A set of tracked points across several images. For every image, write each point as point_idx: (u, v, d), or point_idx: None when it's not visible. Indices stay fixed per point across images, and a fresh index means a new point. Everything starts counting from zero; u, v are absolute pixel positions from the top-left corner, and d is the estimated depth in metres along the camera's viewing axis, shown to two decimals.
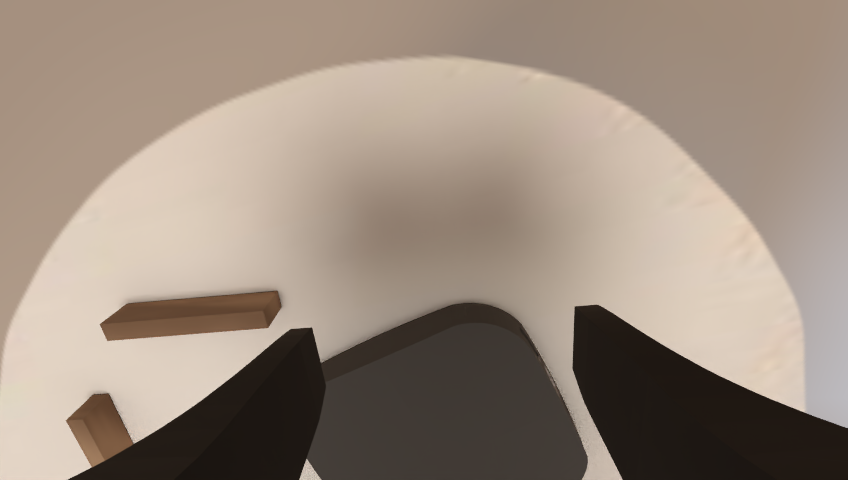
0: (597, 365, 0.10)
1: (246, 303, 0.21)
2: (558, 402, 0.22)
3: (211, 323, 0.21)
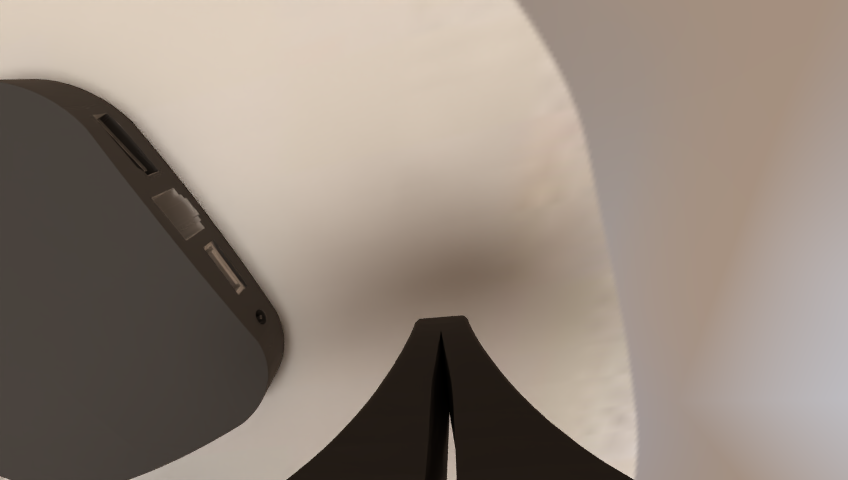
0: (446, 376, 0.10)
1: None
2: (165, 235, 0.13)
3: None
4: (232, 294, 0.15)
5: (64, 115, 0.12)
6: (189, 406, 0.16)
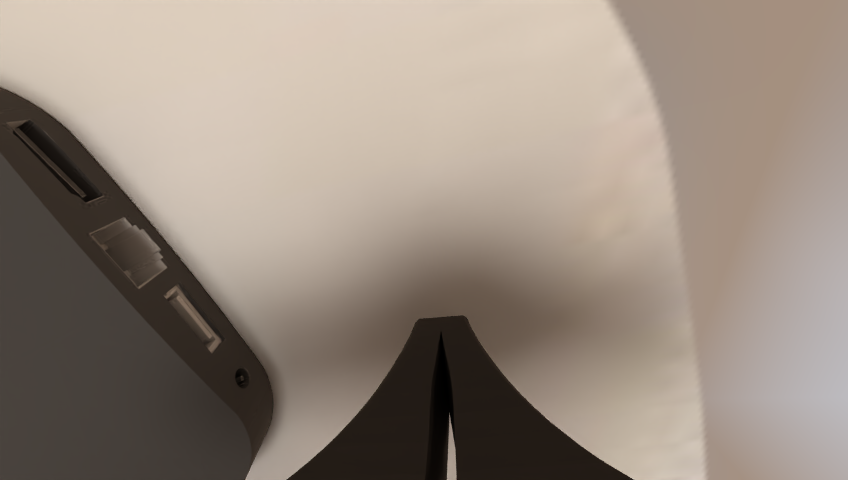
0: (446, 376, 0.10)
1: None
2: (107, 285, 0.10)
3: None
4: (203, 354, 0.11)
5: None
6: None
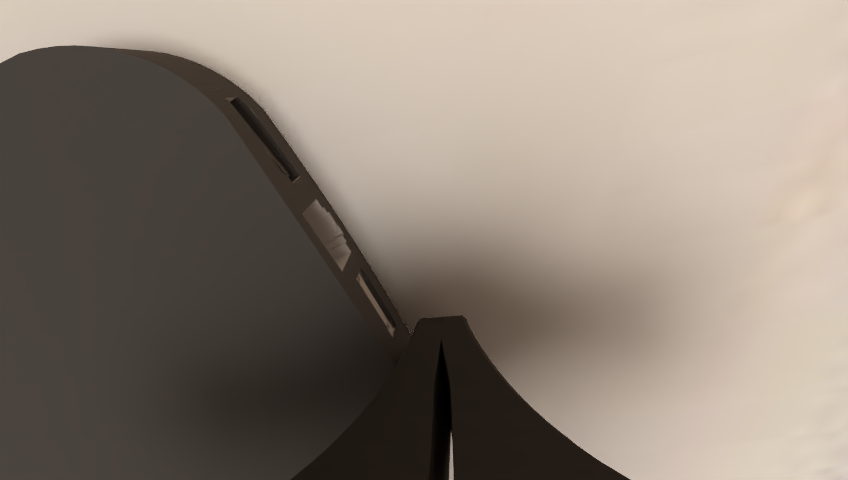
0: (445, 376, 0.10)
1: None
2: (321, 267, 0.10)
3: None
4: (390, 341, 0.11)
5: (195, 97, 0.09)
6: None
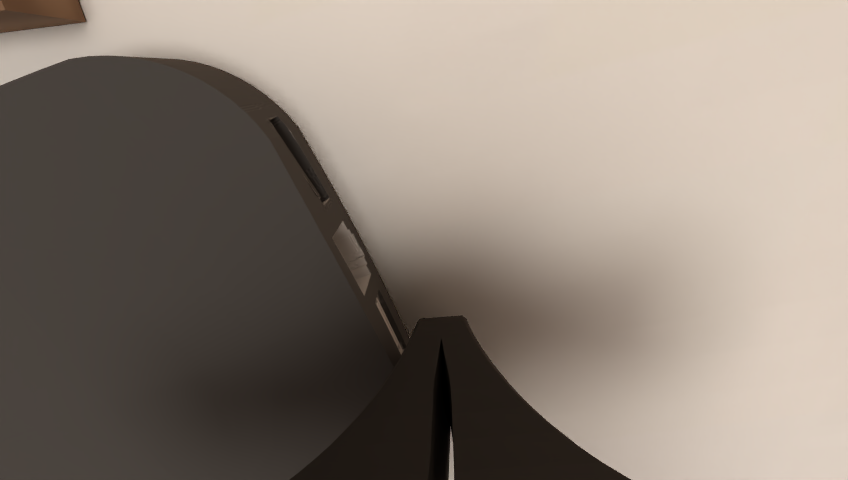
0: (445, 376, 0.10)
1: None
2: (347, 291, 0.10)
3: None
4: None
5: (241, 118, 0.09)
6: None
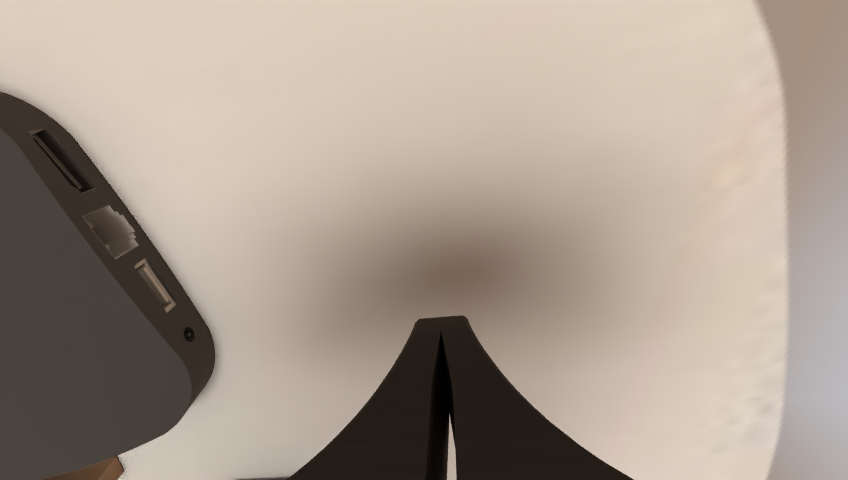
0: (446, 376, 0.10)
1: None
2: (92, 254, 0.14)
3: None
4: (160, 312, 0.15)
5: None
6: (111, 414, 0.16)
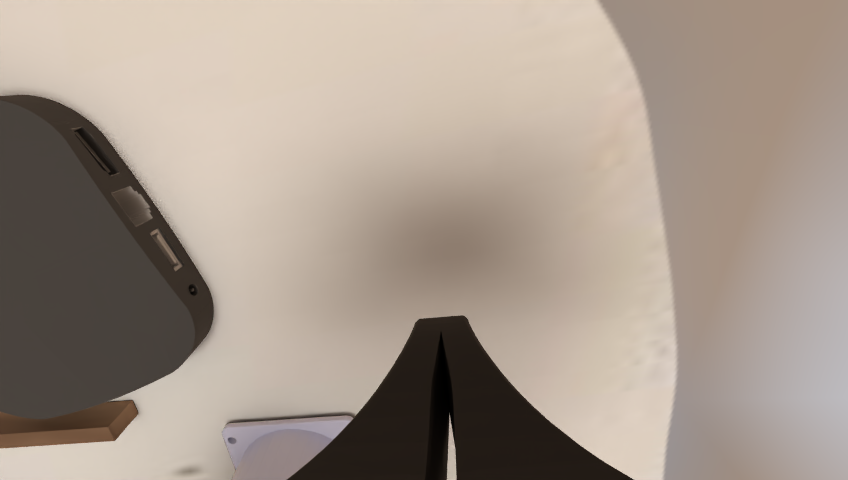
0: (446, 376, 0.10)
1: None
2: (119, 222, 0.18)
3: None
4: (170, 270, 0.19)
5: (49, 128, 0.17)
6: (130, 354, 0.21)
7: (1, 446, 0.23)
